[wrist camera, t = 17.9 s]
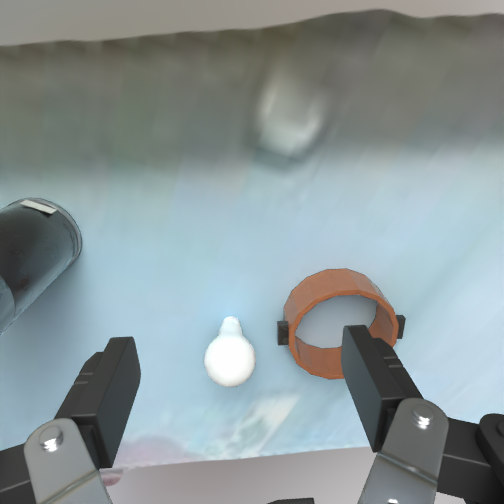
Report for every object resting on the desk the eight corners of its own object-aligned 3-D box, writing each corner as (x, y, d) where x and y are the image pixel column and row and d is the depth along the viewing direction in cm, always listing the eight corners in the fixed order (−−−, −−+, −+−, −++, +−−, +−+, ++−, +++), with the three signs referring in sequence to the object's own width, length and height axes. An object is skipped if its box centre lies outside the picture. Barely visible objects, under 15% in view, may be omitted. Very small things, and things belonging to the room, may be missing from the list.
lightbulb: (213, 340, 50) (207, 401, 40) (205, 304, 48) (197, 360, 38) (255, 335, 50) (260, 395, 40) (250, 299, 48) (253, 353, 38)
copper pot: (274, 354, 52) (278, 382, 47) (274, 271, 46) (278, 293, 41) (384, 348, 52) (400, 375, 47) (397, 265, 47) (416, 286, 42)
